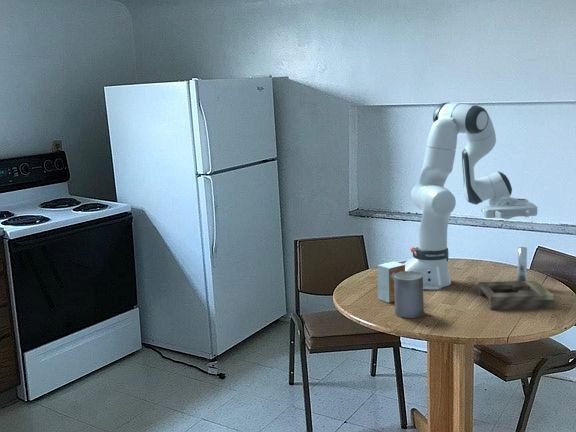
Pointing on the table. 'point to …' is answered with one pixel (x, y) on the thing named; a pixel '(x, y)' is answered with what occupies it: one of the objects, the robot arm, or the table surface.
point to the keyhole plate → (516, 295)
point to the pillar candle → (408, 294)
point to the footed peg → (522, 263)
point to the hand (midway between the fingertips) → (514, 215)
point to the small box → (388, 280)
